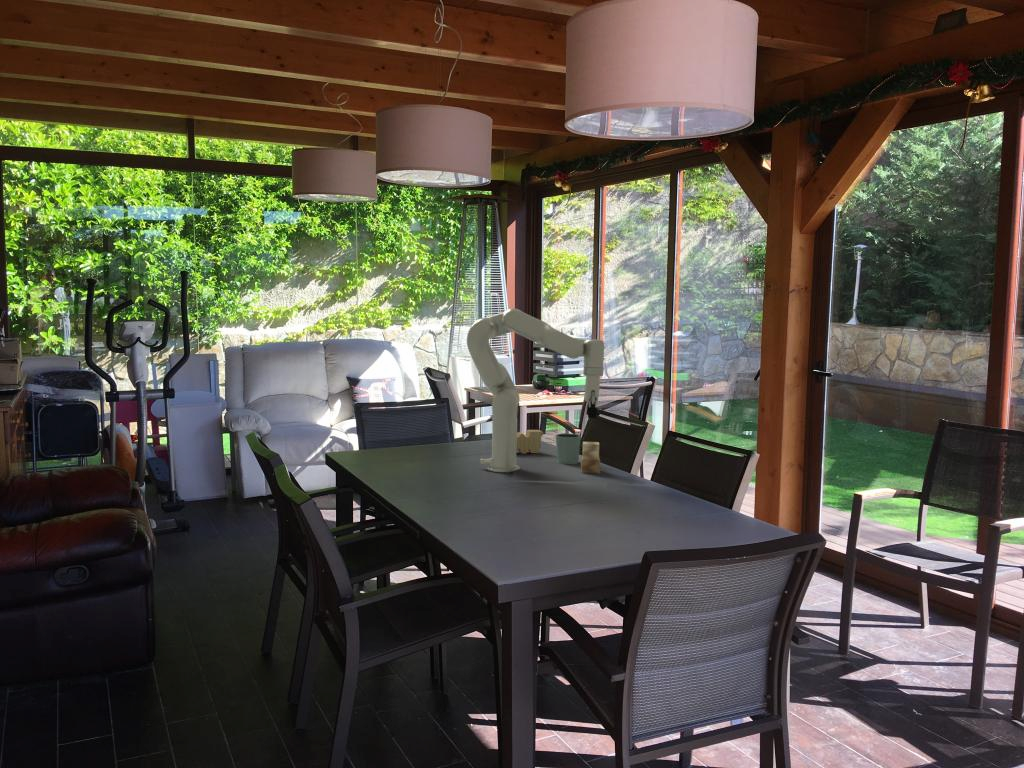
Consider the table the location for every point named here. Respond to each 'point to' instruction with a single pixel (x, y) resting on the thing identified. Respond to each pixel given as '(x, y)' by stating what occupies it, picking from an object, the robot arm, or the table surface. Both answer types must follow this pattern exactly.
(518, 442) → the toy train
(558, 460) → the green cup
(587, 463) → the walnut base block
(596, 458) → the birch cube
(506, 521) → the table surface
